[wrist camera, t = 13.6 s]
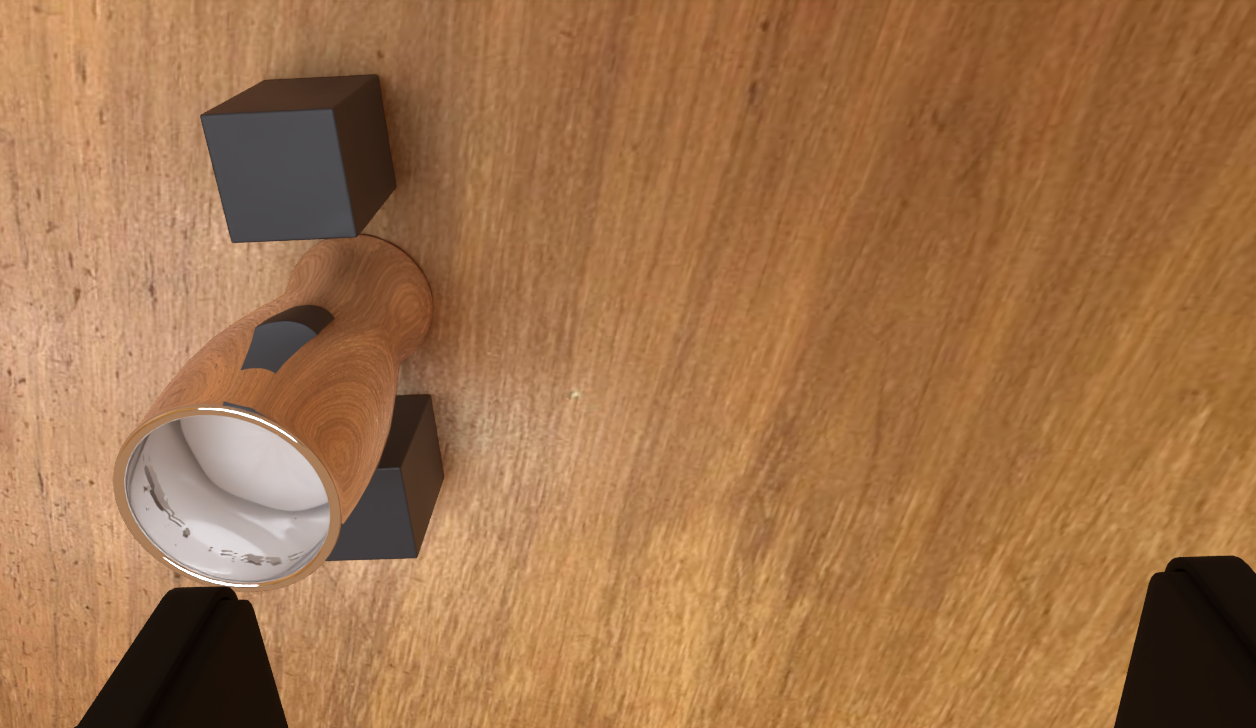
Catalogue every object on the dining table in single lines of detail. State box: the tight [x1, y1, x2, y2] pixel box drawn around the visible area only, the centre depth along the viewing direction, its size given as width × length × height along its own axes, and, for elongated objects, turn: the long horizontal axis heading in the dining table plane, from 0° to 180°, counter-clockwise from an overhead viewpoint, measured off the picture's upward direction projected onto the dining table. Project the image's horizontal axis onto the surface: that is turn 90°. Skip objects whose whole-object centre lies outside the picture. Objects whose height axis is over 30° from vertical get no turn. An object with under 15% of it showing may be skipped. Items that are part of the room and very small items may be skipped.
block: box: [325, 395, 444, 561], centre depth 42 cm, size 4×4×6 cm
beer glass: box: [113, 235, 433, 592], centre depth 35 cm, size 7×7×15 cm
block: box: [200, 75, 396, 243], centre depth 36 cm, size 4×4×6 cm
